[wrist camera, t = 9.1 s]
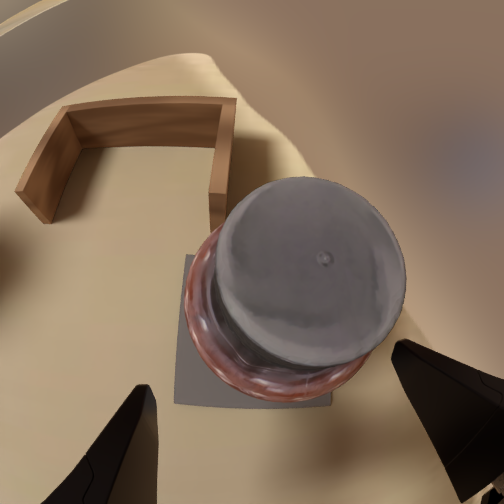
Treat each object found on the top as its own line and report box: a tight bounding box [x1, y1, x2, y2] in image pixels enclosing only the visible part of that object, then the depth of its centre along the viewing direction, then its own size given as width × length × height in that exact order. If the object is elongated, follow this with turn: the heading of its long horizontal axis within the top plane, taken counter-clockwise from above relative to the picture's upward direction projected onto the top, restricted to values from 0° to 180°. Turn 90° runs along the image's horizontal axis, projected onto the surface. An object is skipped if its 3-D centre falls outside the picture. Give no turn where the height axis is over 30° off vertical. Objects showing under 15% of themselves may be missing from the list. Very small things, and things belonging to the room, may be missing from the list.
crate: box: [15, 96, 237, 233], centre depth 20 cm, size 10×16×5 cm, turn 88°
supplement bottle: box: [184, 176, 406, 403], centre depth 12 cm, size 7×7×13 cm
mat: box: [174, 254, 331, 409], centre depth 18 cm, size 10×10×1 cm
